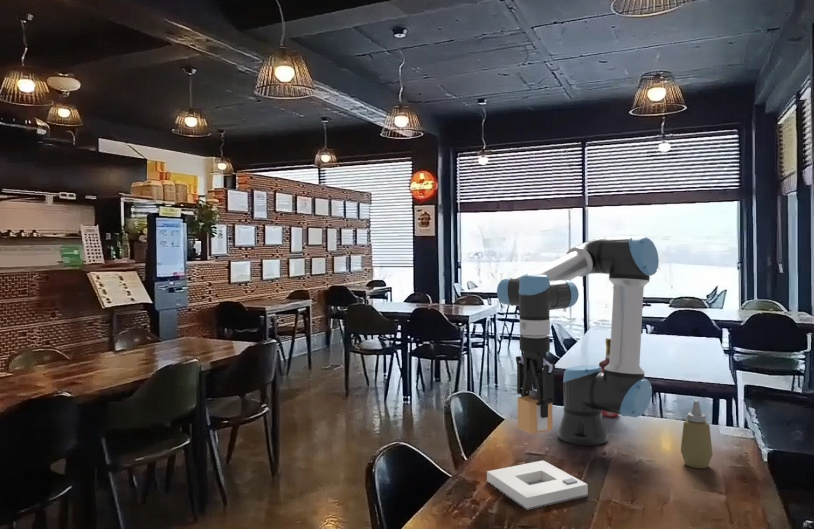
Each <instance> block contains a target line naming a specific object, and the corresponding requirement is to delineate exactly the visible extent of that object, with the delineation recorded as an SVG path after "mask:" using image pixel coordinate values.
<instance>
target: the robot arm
mask: <svg viewBox="0 0 814 529" xmlns="http://www.w3.org/2000/svg"><path fill="white" fill-rule="evenodd" d="M659 262H660V261H659V253H658V250H657V247H656V245H655V243H654V242H653V241H652V240H651V239H650V238H649V237H646V236H637V235H635V236H634V235H631V236H602V237H597V238H594V239H590V240H588V241H584V242H582V243H579V244H578V245H576V246H574V247H572V248H570V249H569V250H568V251H567V252H566V254H564V255H562V256H561V257H558V258H556V259H555V260H552V261H550V262H548V263H546V264H544V265H542V266H540V267H538V268H536V269H534V270H531V271H530V272H527V273H526V274H522V275H521V276H519V277H517V278H512V277H510V278H509V277H508V278H504V279H501V280H500V281H499V282H498V284H497V288H496V294H497V300H499V302H500V303H501V304H502V305H507V306H511V307H515V306H517V307H519V334H520V336H519V351H521V352H522V355H519V356H515V361H516V392H517V395H520V397H525V396H529V390H530V389H534V382H535V388H536V389H537V395H538V401H539V403H536V404H537V430H538V431H540V430H546V429H547V417H548V404H551V403H552V404H554V402H555V381H554V380H555V377H554V376H555V375H554V373H555V369H556V364H555V363H550V362H549V361H548V357H547V353H548V352H550V350H551V343H550V342H551V341H550V340H551V339H550V336H549V335H550V334H551V319H550V311H553V310H554V311H555V310H561V309H562V310H565V309H568V308H571V307H573V306H575V305H576V304H577V302H578V300H579V296H580V295H579V294H580V293H579V290H578V287H577V285H576V283H574V282H573V281H571V280H574V279H575V278H577V277H579V278H580V277H585V276H588V275H591V274H594V275H595V274H604V275H608V281H609V282H611V283H612V285H613V292H612V311H611V314H612V315H611V326H610V327H611V330H610V338H611V345H610V363H609V364H608V365H607V366H606V367H604V373H603V372H602V369H601V367H600V366H599V365H594V364H592V365H591V364H590V365H589V364H587V365H586V364H585V365H575V366H570V367H568V368H567V367H566V369H565V370H564V372H563V381H562V383H563V415H562V417H561V421H560V424H559V425H560V426H559V427H558V431H557V432H558V438H559V439H560V440H561V441H563V442H565V443H568V444H572V445H577V446H586V447H587V446H588V447H589V446H599V445H603V444H605V443H606V442H608V438H609V437H608V431H607V428H606V424H605V421H604V419H603V415H602V411H606V412H611V413H615V414H619V415H620V416H621V417H629V418H630V417H631V418H638V417H640V416H642V415H643V414H644V413H646V410H647V409H648V408H649V406H650V403H651V399H652V394H653V389H652V388H653V387H652V384H651V382H650V381H649V380H648V379H647V378H645V370H643V368H642V367H641V365H640V362H641V359H640V358H641V348H642V346H641V343H642V326H643V325H642V324H643V323H642V322H643V306H644V305H643V304H644V291H645V290H644V287H645V286H646V285H648V284H649V282H650V280H651V278H650V277H652V276H653V275H655V274H657V272H658V269H659Z"/></svg>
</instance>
